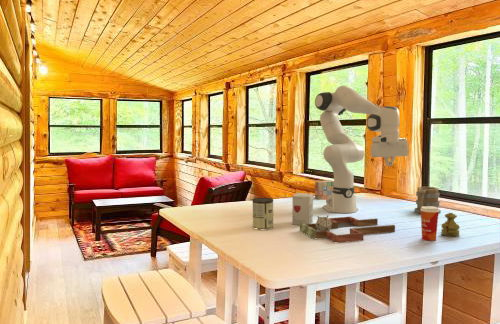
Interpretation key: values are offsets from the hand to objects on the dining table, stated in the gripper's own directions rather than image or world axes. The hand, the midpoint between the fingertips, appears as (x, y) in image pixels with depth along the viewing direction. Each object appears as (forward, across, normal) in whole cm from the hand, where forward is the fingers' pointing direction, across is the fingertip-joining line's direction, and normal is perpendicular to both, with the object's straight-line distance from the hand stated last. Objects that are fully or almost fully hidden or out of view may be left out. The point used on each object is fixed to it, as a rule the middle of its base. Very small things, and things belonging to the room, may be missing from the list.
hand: (389, 165), depth 215 cm
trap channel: (+29, +30, +10) cm, 43 cm away
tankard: (+29, -32, -12) cm, 45 cm away
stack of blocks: (+29, -5, -73) cm, 79 cm away
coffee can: (+29, +65, -9) cm, 72 cm away
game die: (+29, +41, +10) cm, 52 cm away
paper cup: (+29, +3, +34) cm, 45 cm away
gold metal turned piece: (+29, -11, +31) cm, 44 cm away
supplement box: (+29, +43, -11) cm, 53 cm away
